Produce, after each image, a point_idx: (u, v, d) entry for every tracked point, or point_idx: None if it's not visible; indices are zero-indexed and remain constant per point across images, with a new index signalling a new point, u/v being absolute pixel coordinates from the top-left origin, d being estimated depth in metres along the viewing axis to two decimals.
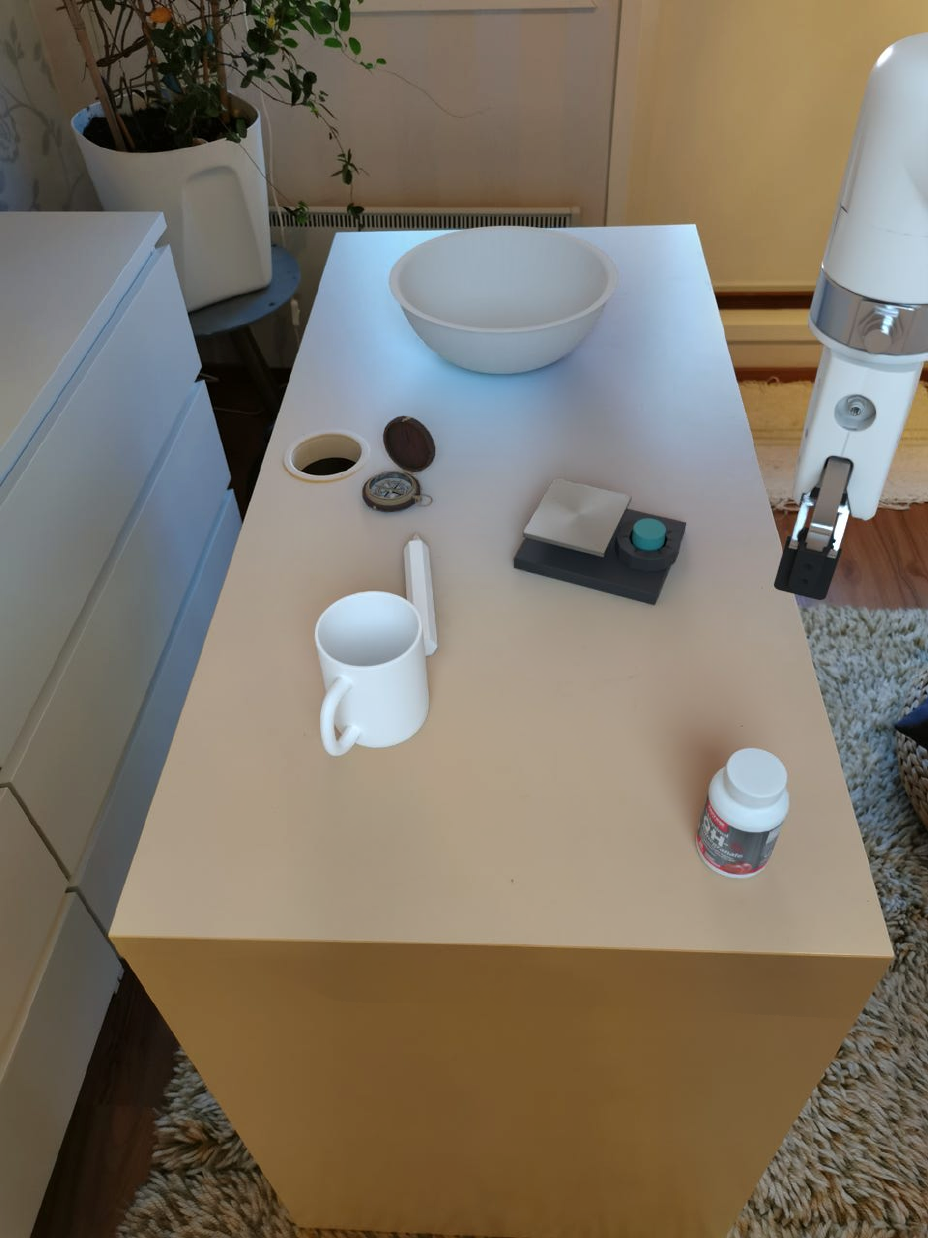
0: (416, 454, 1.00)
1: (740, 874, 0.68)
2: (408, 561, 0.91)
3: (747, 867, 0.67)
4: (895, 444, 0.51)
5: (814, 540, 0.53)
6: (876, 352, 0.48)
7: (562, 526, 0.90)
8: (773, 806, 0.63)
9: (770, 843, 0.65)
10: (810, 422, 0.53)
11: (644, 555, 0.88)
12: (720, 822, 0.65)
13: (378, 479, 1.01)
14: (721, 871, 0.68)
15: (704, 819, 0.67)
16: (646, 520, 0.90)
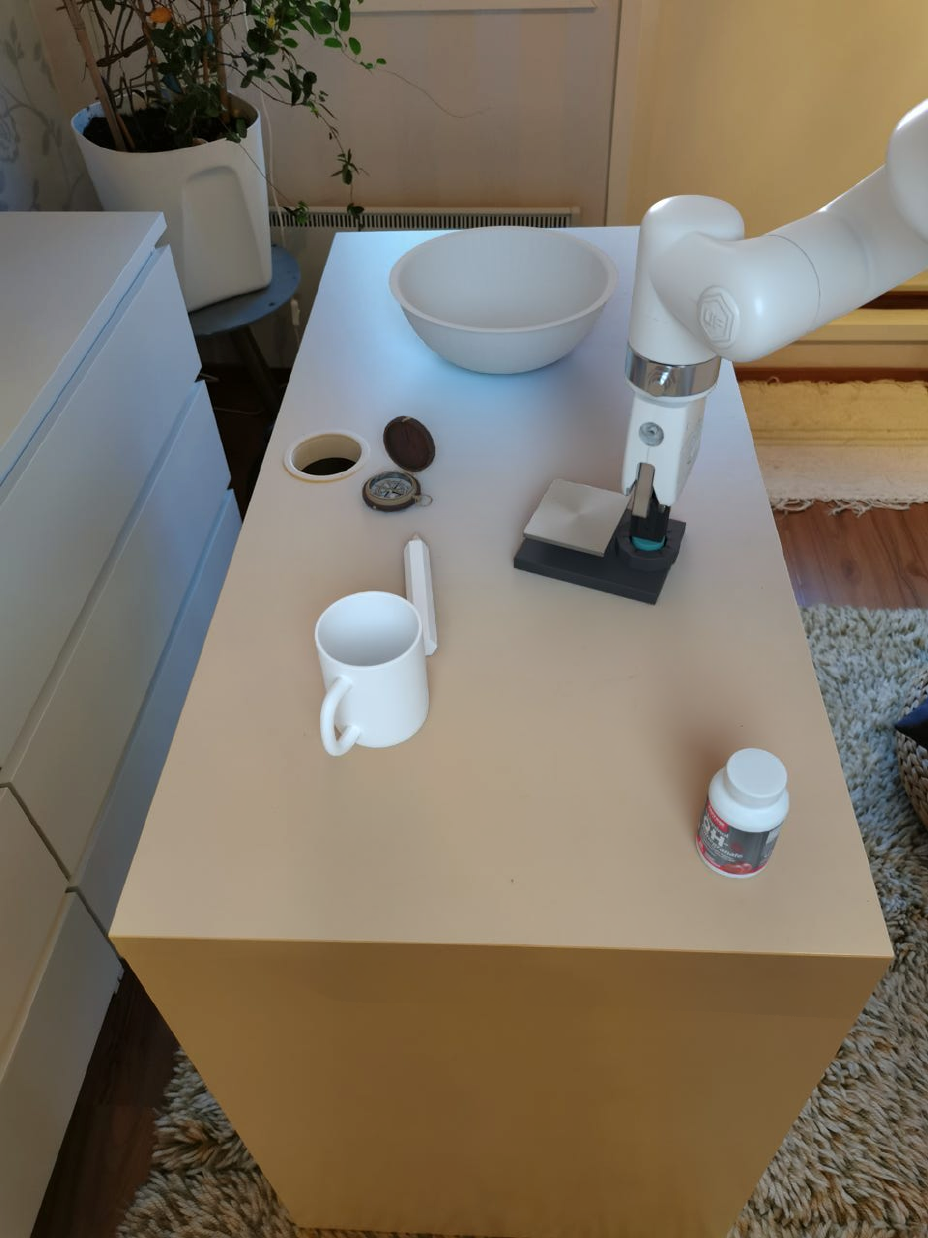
0: (416, 454, 1.00)
1: (740, 874, 0.68)
2: (408, 561, 0.91)
3: (747, 867, 0.67)
4: (679, 455, 0.77)
5: None
6: (656, 395, 0.73)
7: (562, 526, 0.90)
8: (773, 806, 0.63)
9: (770, 843, 0.65)
10: (626, 440, 0.78)
11: (644, 555, 0.88)
12: (720, 822, 0.65)
13: (378, 479, 1.01)
14: (721, 871, 0.68)
15: (704, 819, 0.67)
16: None
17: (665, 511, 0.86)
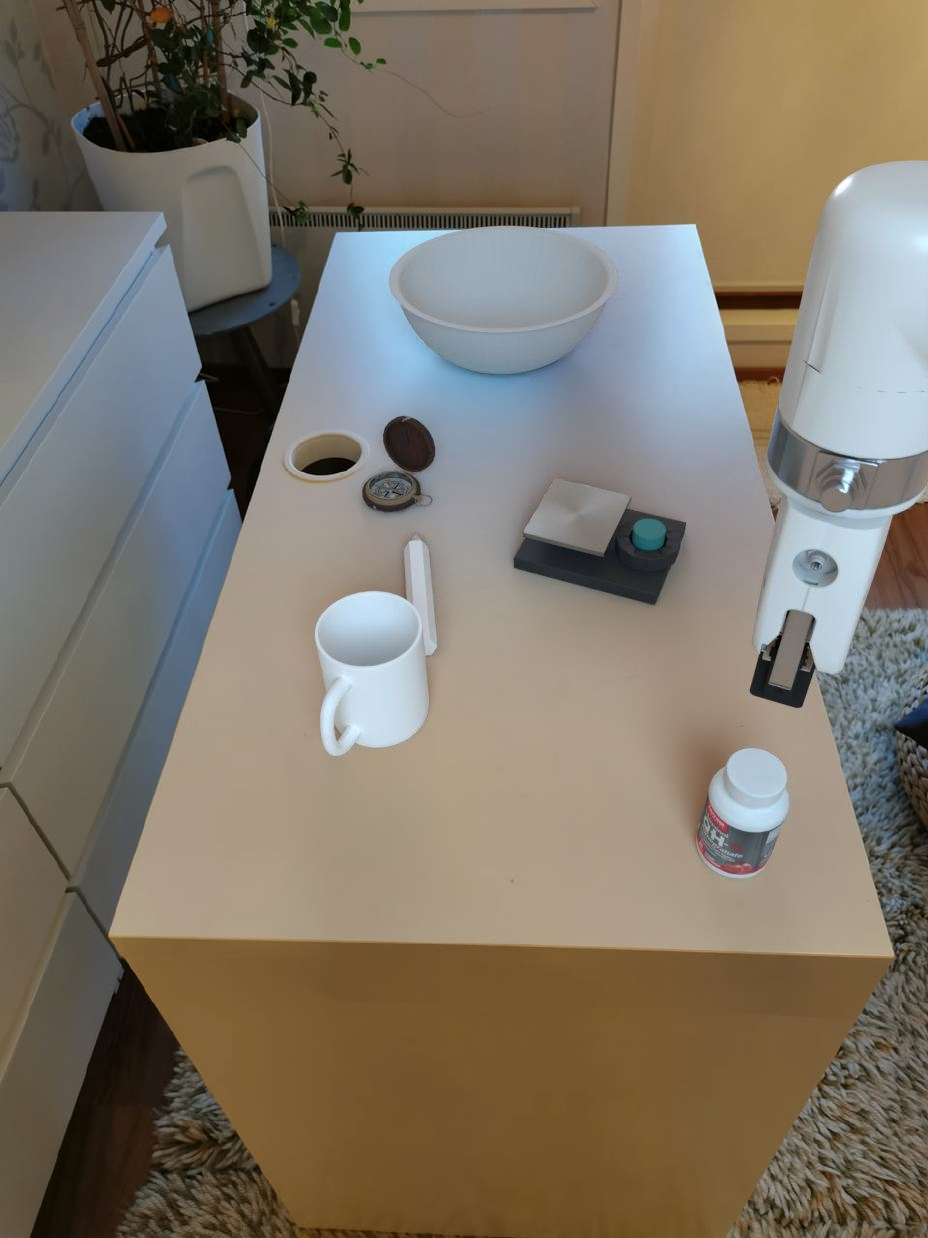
0: (416, 454, 1.00)
1: (740, 874, 0.68)
2: (408, 561, 0.91)
3: (747, 867, 0.67)
4: (861, 601, 0.46)
5: None
6: (834, 511, 0.42)
7: (562, 526, 0.90)
8: (773, 806, 0.63)
9: (770, 843, 0.65)
10: (768, 572, 0.47)
11: (644, 555, 0.88)
12: (720, 822, 0.65)
13: (378, 479, 1.01)
14: (721, 871, 0.68)
15: (704, 819, 0.67)
16: (646, 520, 0.90)
17: (812, 666, 0.55)
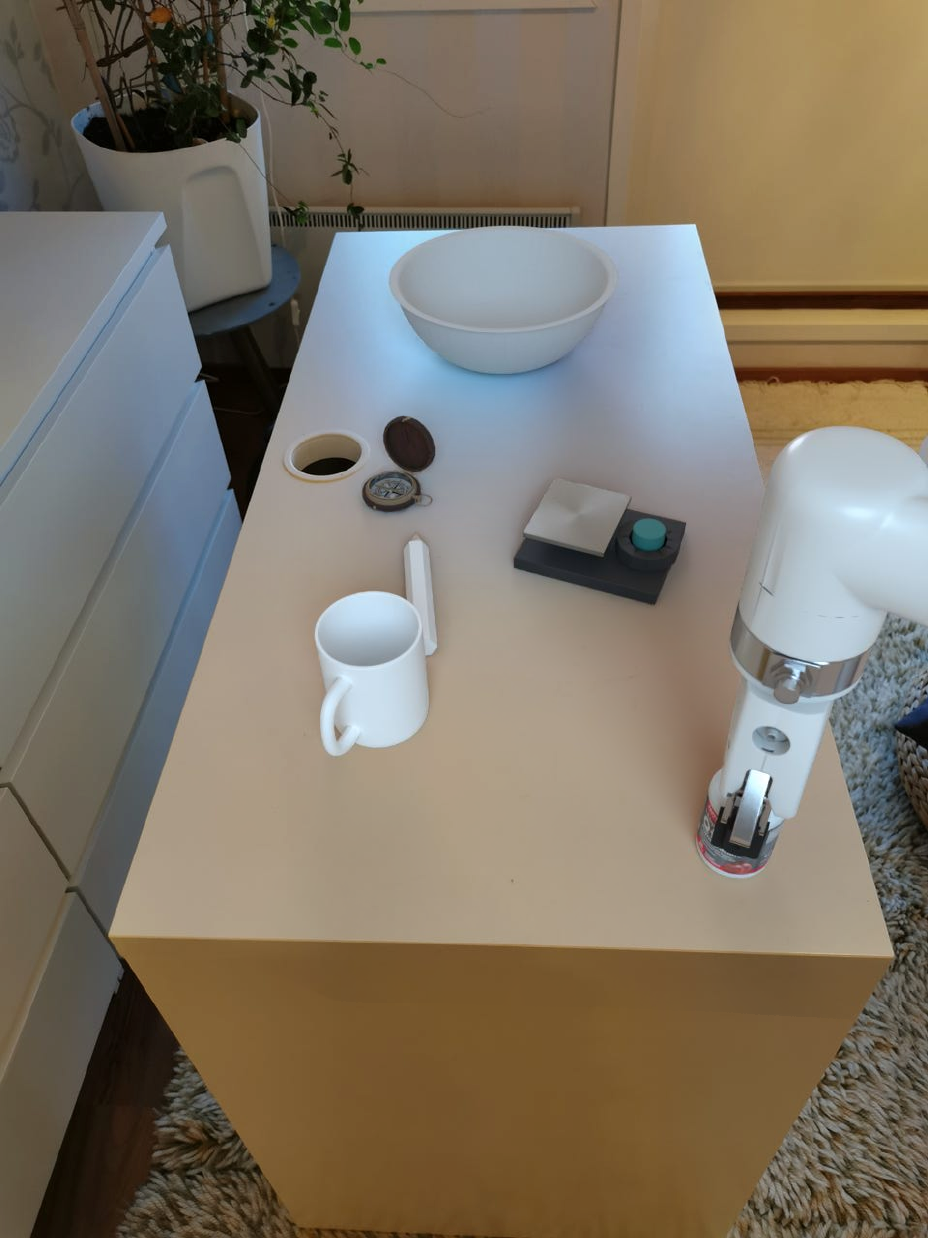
0: (416, 454, 1.00)
1: (740, 874, 0.68)
2: (408, 561, 0.91)
3: (747, 867, 0.67)
4: (810, 767, 0.54)
5: None
6: (785, 703, 0.50)
7: (562, 526, 0.90)
8: None
9: (770, 843, 0.65)
10: (731, 738, 0.55)
11: (644, 555, 0.88)
12: None
13: (378, 479, 1.01)
14: (722, 871, 0.68)
15: (704, 819, 0.67)
16: (646, 520, 0.90)
17: (765, 829, 0.61)
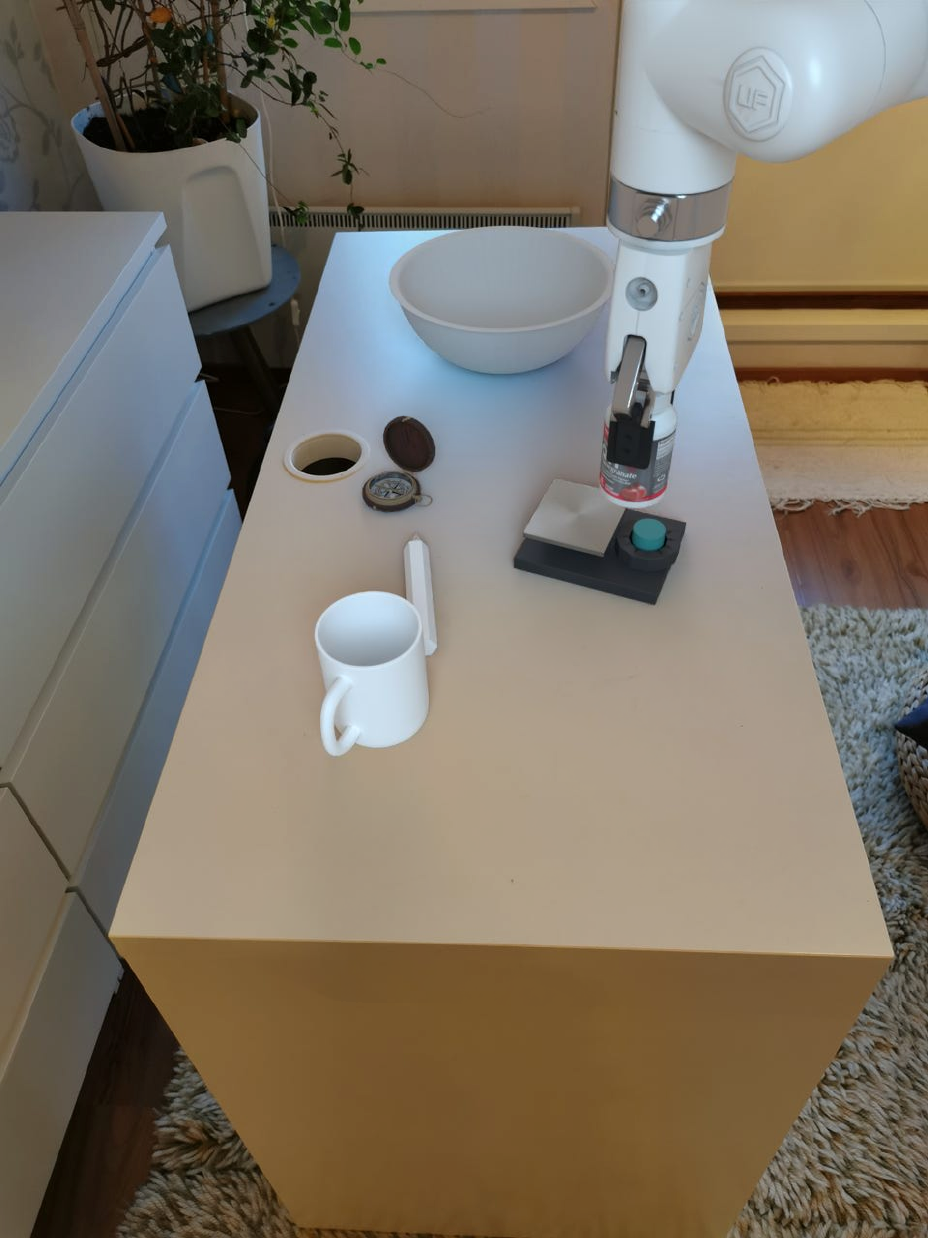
0: (416, 454, 1.00)
1: (636, 502, 0.74)
2: (408, 561, 0.91)
3: (642, 491, 0.73)
4: (678, 321, 0.60)
5: (620, 414, 0.64)
6: (648, 236, 0.57)
7: (562, 526, 0.90)
8: (661, 417, 0.70)
9: (661, 461, 0.71)
10: (610, 306, 0.62)
11: (644, 555, 0.88)
12: None
13: (378, 479, 1.01)
14: (620, 501, 0.74)
15: (603, 448, 0.73)
16: (646, 520, 0.90)
17: (651, 426, 0.67)
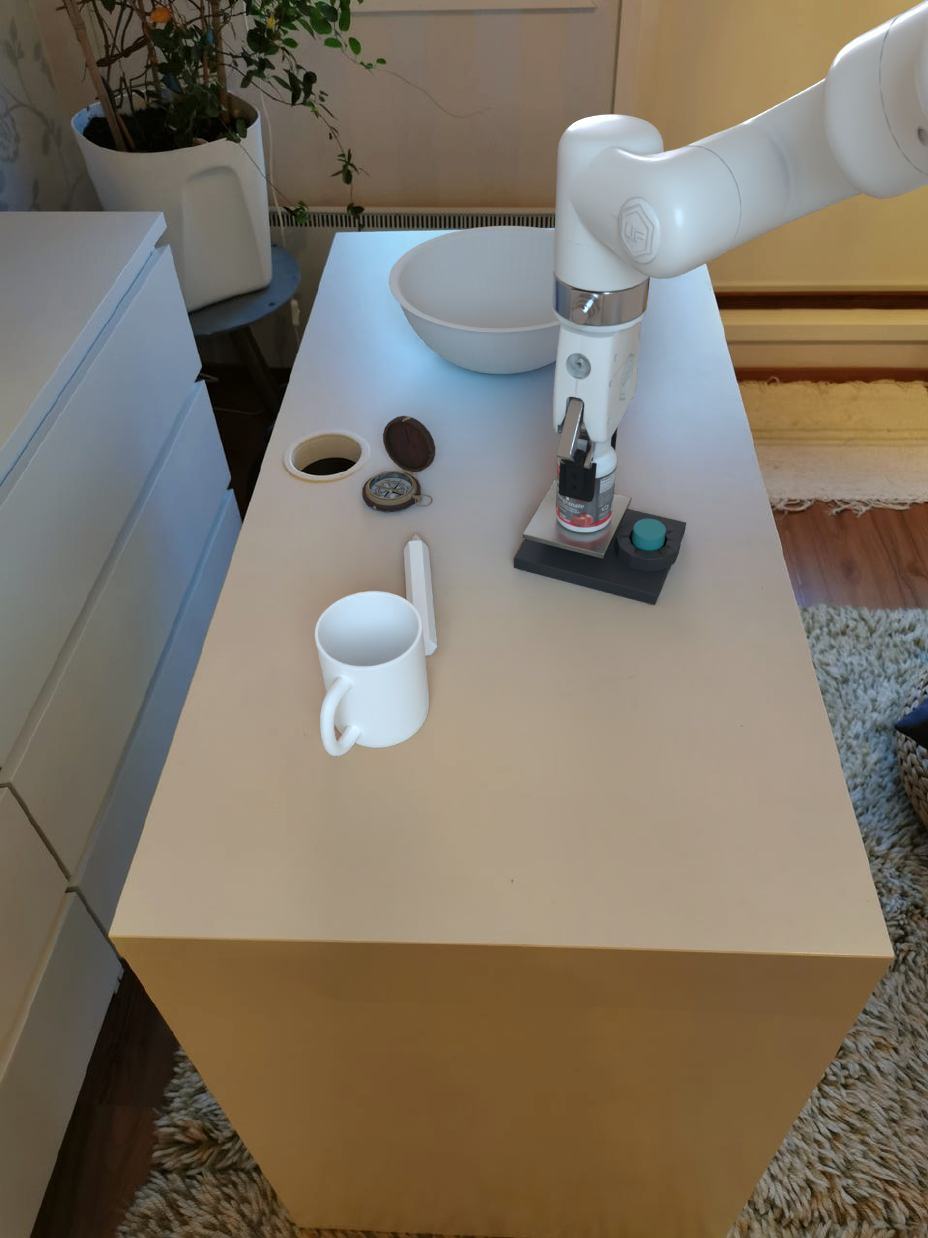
0: (416, 454, 1.00)
1: (585, 527, 0.89)
2: (408, 561, 0.91)
3: (589, 518, 0.88)
4: (608, 387, 0.75)
5: (564, 459, 0.79)
6: (580, 323, 0.72)
7: (562, 528, 0.90)
8: (602, 459, 0.85)
9: (604, 494, 0.87)
10: (555, 374, 0.77)
11: (644, 555, 0.88)
12: None
13: (378, 479, 1.01)
14: (572, 526, 0.89)
15: (557, 483, 0.88)
16: (646, 520, 0.90)
17: (593, 467, 0.83)
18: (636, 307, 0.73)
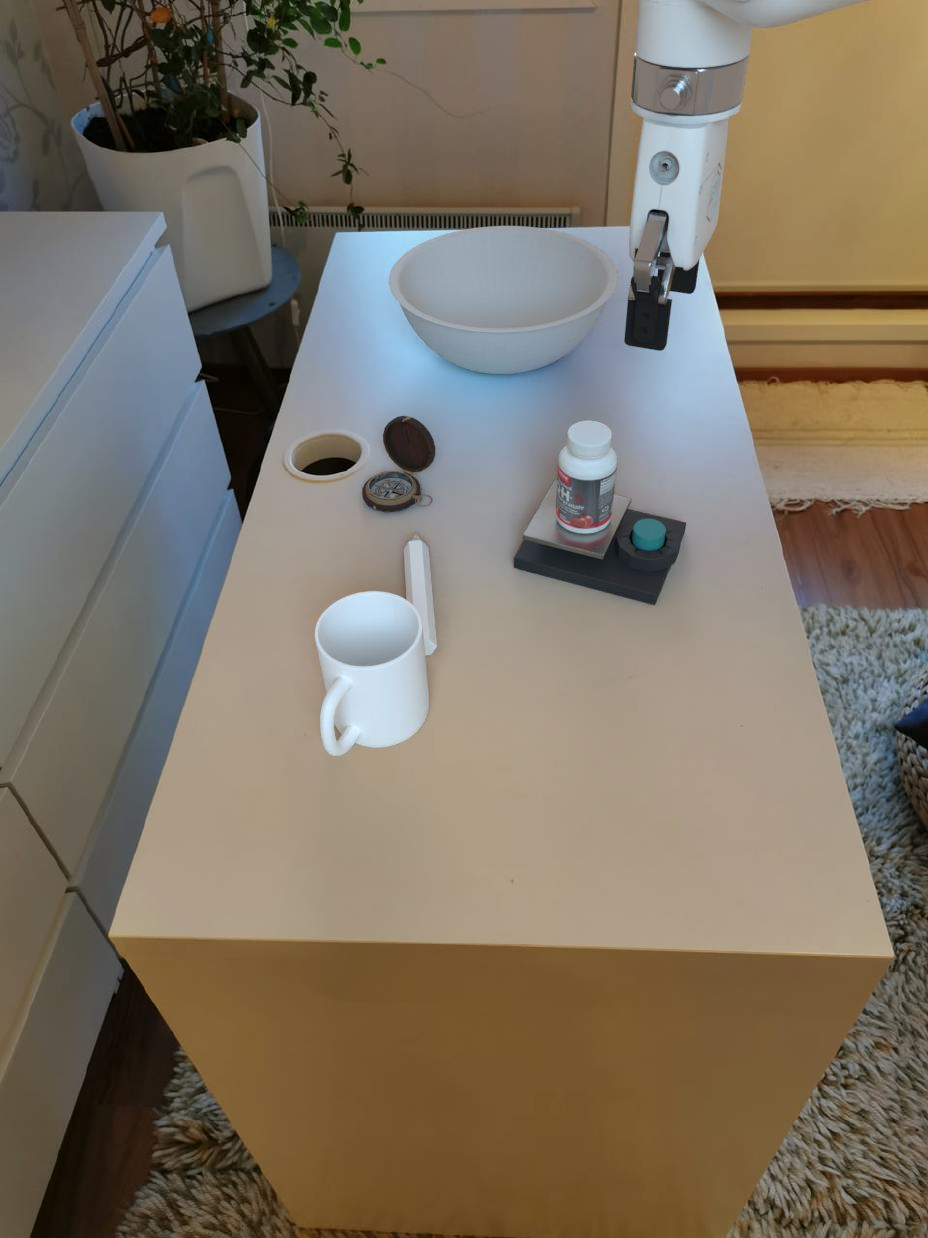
0: (416, 454, 1.00)
1: (585, 528, 0.89)
2: (408, 561, 0.91)
3: (589, 520, 0.88)
4: (698, 194, 0.65)
5: (640, 278, 0.67)
6: (670, 108, 0.61)
7: (562, 529, 0.90)
8: (602, 460, 0.85)
9: (604, 496, 0.87)
10: (634, 183, 0.66)
11: (644, 555, 0.88)
12: (565, 477, 0.86)
13: (378, 479, 1.01)
14: (572, 527, 0.89)
15: (557, 484, 0.88)
16: (646, 520, 0.90)
17: (668, 304, 0.70)
18: (733, 93, 0.63)
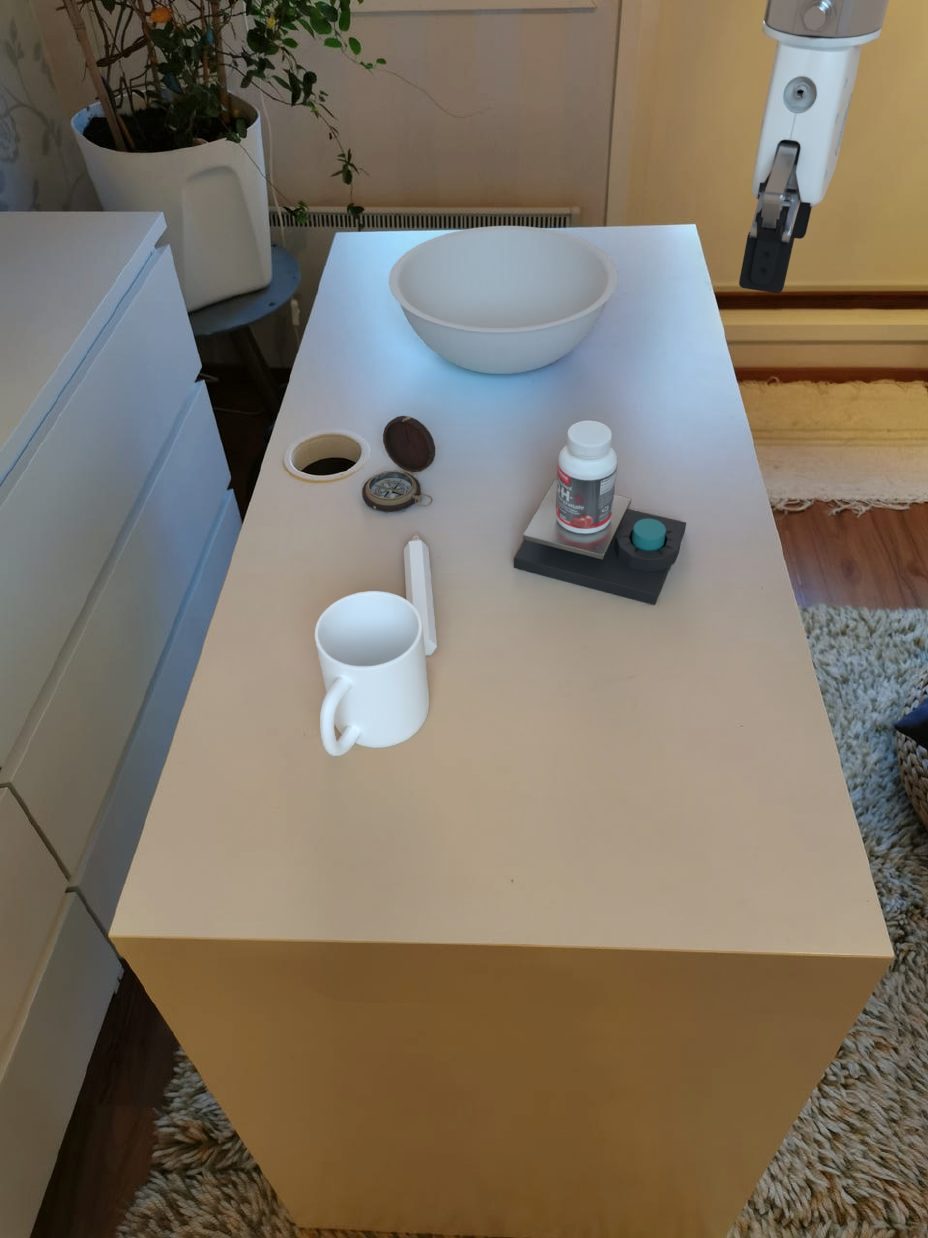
0: (416, 454, 1.00)
1: (585, 528, 0.89)
2: (408, 561, 0.91)
3: (589, 520, 0.88)
4: (833, 123, 0.62)
5: (768, 212, 0.64)
6: (814, 28, 0.58)
7: (562, 529, 0.90)
8: (602, 460, 0.85)
9: (604, 496, 0.87)
10: (764, 112, 0.63)
11: (644, 555, 0.88)
12: (565, 477, 0.86)
13: (378, 479, 1.01)
14: (572, 527, 0.89)
15: (557, 484, 0.88)
16: (646, 520, 0.90)
17: (790, 242, 0.68)
18: (877, 14, 0.60)
